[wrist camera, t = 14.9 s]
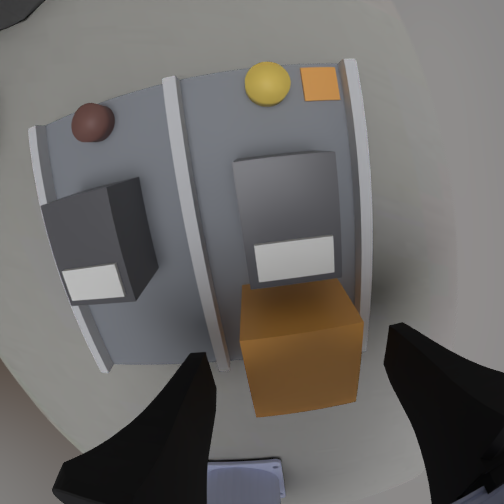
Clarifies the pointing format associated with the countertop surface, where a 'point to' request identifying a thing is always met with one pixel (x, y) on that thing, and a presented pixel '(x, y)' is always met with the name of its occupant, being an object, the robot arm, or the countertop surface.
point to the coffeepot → (16, 11)
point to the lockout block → (300, 346)
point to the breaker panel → (206, 194)
